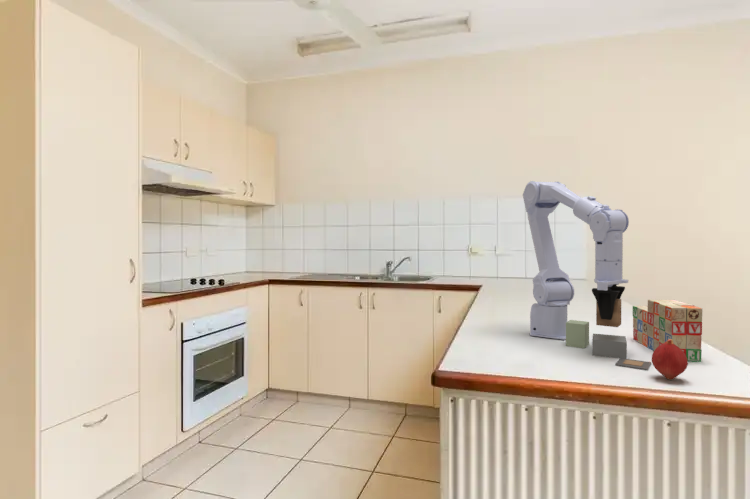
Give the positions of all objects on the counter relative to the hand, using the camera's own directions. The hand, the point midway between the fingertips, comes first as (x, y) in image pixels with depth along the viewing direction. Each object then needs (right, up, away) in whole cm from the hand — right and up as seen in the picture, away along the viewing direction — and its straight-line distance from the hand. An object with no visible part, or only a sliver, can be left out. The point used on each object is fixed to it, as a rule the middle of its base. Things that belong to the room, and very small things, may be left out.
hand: (608, 317), depth 104 cm
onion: (+2, -9, -19) cm, 21 cm away
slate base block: (0, -9, 0) cm, 9 cm away
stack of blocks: (+15, -9, +3) cm, 18 cm away
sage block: (-4, -9, +8) cm, 12 cm away
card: (+1, -9, -9) cm, 13 cm away
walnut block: (0, -2, 0) cm, 2 cm away
